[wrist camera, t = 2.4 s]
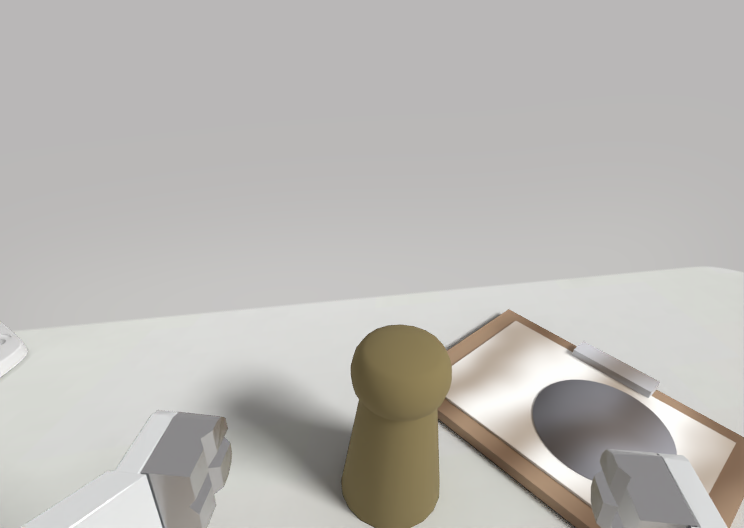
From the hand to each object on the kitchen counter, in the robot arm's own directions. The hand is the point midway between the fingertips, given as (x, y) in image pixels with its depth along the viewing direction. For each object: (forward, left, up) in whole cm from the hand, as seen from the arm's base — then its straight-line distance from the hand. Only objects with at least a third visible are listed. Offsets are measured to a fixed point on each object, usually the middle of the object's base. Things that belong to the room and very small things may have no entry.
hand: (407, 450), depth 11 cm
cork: (-8, +9, -18) cm, 22 cm away
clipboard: (-3, +22, -18) cm, 28 cm away
